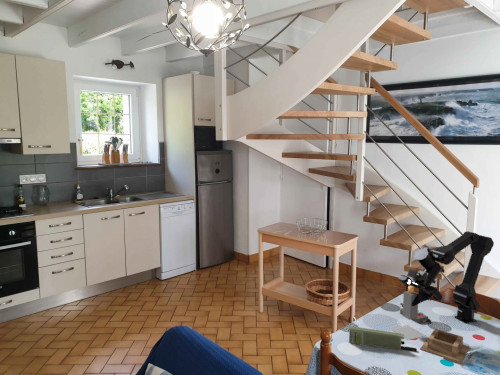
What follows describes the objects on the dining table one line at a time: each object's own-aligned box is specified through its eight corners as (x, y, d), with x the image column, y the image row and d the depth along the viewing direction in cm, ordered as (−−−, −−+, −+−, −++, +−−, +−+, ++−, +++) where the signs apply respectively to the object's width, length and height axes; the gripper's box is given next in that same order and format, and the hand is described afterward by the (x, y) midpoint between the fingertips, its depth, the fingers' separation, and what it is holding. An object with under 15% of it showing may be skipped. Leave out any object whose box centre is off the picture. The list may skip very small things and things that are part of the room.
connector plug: (409, 314, 162) (411, 284, 160) (417, 318, 158) (418, 287, 157) (402, 315, 160) (404, 285, 159) (410, 319, 157) (411, 289, 155)
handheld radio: (349, 340, 155) (416, 350, 148) (348, 344, 152) (416, 355, 144) (349, 324, 154) (417, 334, 147) (349, 328, 151) (417, 339, 143)
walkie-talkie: (434, 323, 170) (402, 305, 189) (435, 313, 170) (402, 297, 188) (419, 326, 167) (387, 308, 186) (420, 317, 167) (388, 299, 185)
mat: (407, 326, 167) (407, 324, 167) (425, 336, 158) (426, 335, 158) (389, 330, 163) (389, 329, 163) (407, 341, 154) (407, 340, 154)
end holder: (430, 337, 157) (431, 325, 157) (469, 348, 148) (470, 336, 148) (420, 350, 147) (420, 338, 146) (460, 364, 138) (461, 351, 137)
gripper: (402, 256, 167) (381, 284, 164) (438, 269, 150) (416, 301, 147) (415, 271, 171) (395, 299, 168) (451, 285, 154) (430, 316, 151)
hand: (408, 303), depth 158 cm, fingers closed on connector plug, 4 cm apart
